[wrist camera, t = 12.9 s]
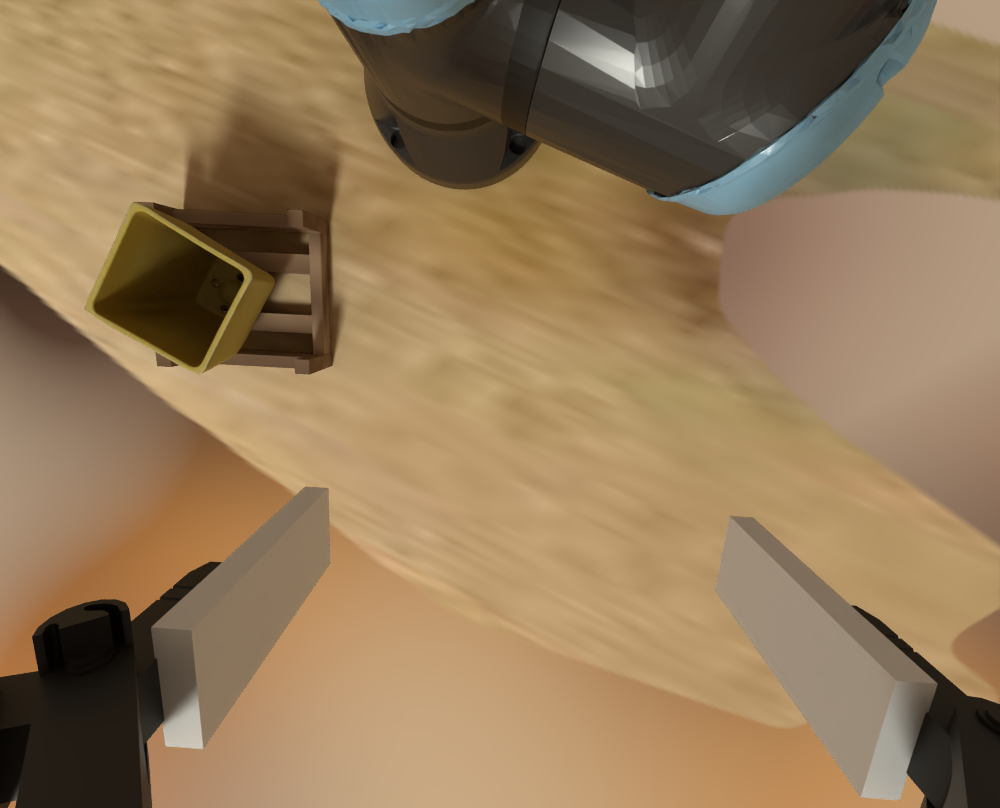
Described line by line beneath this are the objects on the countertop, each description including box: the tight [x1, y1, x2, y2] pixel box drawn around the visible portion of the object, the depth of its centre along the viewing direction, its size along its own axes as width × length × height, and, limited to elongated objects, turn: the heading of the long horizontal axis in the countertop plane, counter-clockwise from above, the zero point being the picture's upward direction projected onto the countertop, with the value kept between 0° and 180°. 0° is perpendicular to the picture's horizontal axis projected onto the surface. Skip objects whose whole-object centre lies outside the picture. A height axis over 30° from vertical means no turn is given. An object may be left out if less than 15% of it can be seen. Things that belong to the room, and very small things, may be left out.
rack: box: [139, 202, 332, 374], centre depth 39 cm, size 13×13×5 cm
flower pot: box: [85, 202, 275, 374], centre depth 36 cm, size 9×9×9 cm
